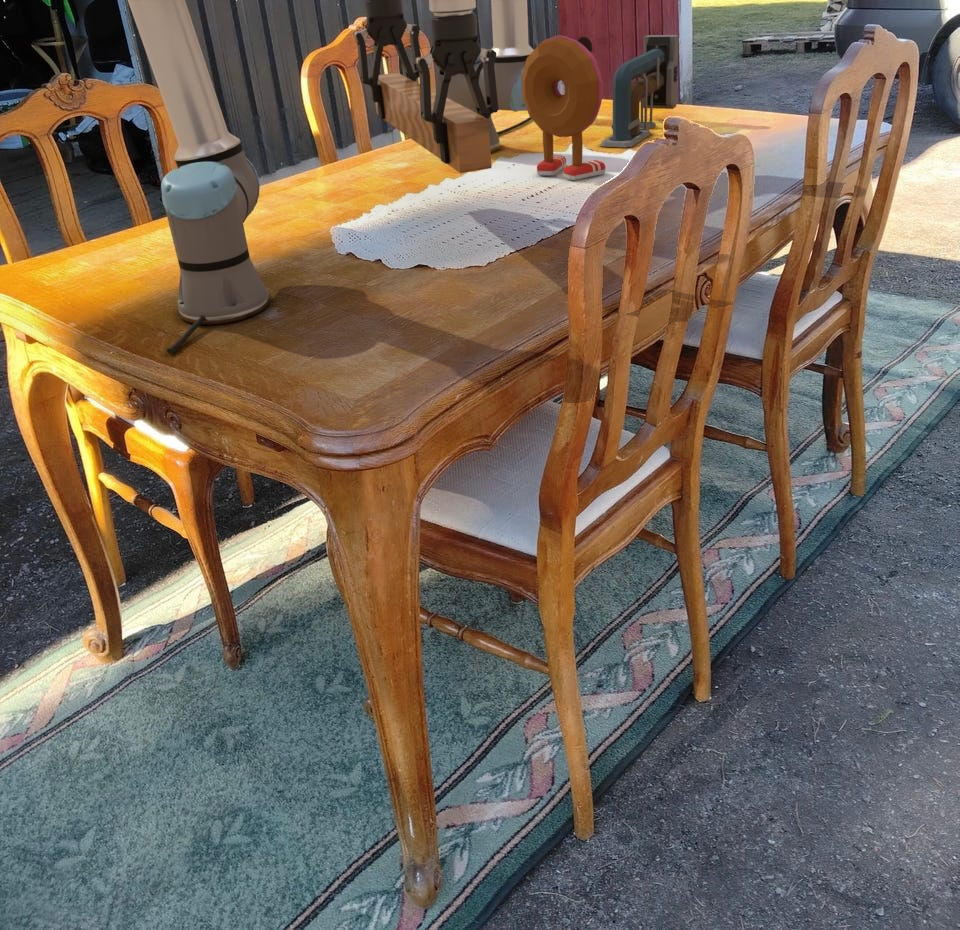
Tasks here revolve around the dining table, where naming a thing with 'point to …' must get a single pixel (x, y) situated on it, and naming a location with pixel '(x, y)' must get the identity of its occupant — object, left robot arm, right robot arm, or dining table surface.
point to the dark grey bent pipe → (643, 90)
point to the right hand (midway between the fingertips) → (396, 115)
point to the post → (405, 115)
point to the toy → (563, 100)
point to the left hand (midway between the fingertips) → (463, 159)
